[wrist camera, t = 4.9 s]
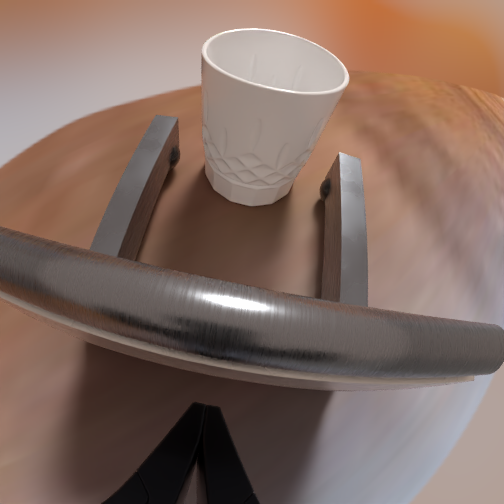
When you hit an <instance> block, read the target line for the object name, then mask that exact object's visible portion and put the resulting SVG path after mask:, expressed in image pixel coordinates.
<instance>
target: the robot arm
mask: <svg viewBox="0 0 504 504" xmlns="http://www.w3.org/2000/svg"><path fill="white" fill-rule="evenodd" d="M197 457H198V458H197ZM196 462H197V504H260V502H259V500H258V498H257V496H256V494H255V493H254V490H253V488H252V485H251V483H250V481H249V479H248V476H247V474H246V472H245V469H244V467H243V465H242V462H241V460H240V457H239V455H238V453H237V450H236V448H235V445H234V443H233V440H232V438H231V435H230V433H229V430H228V427H227V425H226V422H225V420H224V417H223V414H222V412H221V409H220V407H218V406H213V405H207V406H206V405H205V404H202V403H197V402H194V403H192V404H191V406H190V407H189V408H188V409H187V411H186V412H185V413H184V414H183V416H182V417H181V418H180V419H179V421H178V422H177V423H176V424H175V425H174V427H173V428H172V429H171V430H170V431H169V433H168V434H167V435H166V436H165V437H164V439H163V440H162V441H161V442H160V443H159V445H158V446H157V447H156V448H155V449H154V451H153V452H152V453H151V454H150V455H149V456H148V458H147V459H146V460H145V461H144V462H143V463H142V464H141V466H140V467H139V468H138V469H137V472H134V473H133V475H132V476H131V477H130V478H129V479H128V480H127V481H126V482H125V483H124V484H123V485H122V486H121V487H120V488H119V489H118V490H117V491H116V492H115V493H114V494H113V495H111V496H110V497H109V498H108V499H107V500H105V501H104V502H103V503H101V504H184V501H185V497H186V494H187V491H188V488H189V485H190V482H191V479H192V476H193V472H194V469H195V466H196Z"/></svg>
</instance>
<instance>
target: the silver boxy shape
mask: <svg viewBox="0 0 504 504" xmlns="http://www.w3.org/2000/svg"><path fill="white" fill-rule="evenodd" d="M179 159H180V150H179V130H178V118H177V117H169V116H161V115H156V116H155V118H154V119H153V121H152V123H151V124H150V126H149V128H148V129H147V131H146V133H145V134H144V136H143V138H142V140H141V141H140V143H139V145H138V147H137V149H136V150H135V152H134V154H133V156H132V158H131V160H130V162H129V164H128V166H127V167H126V169H125V171H124V173H123V175H122V177H121V179H120V181H119V183H118V185H117V187H116V190H115V192H114V194H113V196H112V198H111V200H110V202H109V205H108V207H107V209H106V211H105V214H104V216H103V218H102V220H101V223H100V225H99V228H98V230H97V232H96V235H95V237H94V240H93V242H92V245H91V248H90V250H87V249H83V248H79V247H75V246H71V245H67V244H63V243H59V242H56V241H52V240H48V239H44V238H41V237H37V236H33V235H30V234H26V233H22V232H19V231H15V230H12V229H8V228H5V227H1V226H0V301H2V302H4V303H6V304H7V305H9V306H11V307H13V308H15V309H17V310H19V311H21V312H22V313H24V314H26V315H28V316H30V317H32V318H34V319H36V320H38V321H40V322H43V323H45V324H47V325H49V326H51V327H53V328H55V329H58V330H60V331H62V332H64V333H67V334H69V335H71V336H74V337H76V338H78V339H81V340H83V341H86V342H89V343H91V344H94V345H97V346H100V347H103V348H106V349H110V350H113V351H116V352H119V353H123V354H126V355H129V356H133V357H136V358H140V359H143V360H147V361H151V362H155V363H159V364H163V365H167V366H171V367H175V368H179V369H183V370H188V371H193V372H197V373H202V374H207V375H212V376H217V377H223V378H228V379H234V380H240V381H246V382H253V383H260V384H267V385H275V386H284V387H293V388H303V389H314V390H328V391H377V390H397V389H411V388H422V387H432V386H440V385H448V384H455V383H462V382H468V381H474V376H476V375H487V374H492V373H494V372H495V371H497V370H498V369H499V368H500V366H501V365H502V363H503V362H504V330H503V329H502V328H501V327H500V326H498V325H495V324H486V323H478V322H469V321H461V320H454V319H446V318H438V317H431V316H424V315H417V314H410V313H403V312H397V311H390V310H384V309H377V308H371V307H368V259H367V232H366V214H365V201H364V189H363V179H362V169H361V161H360V159H359V158H355V157H352V156H349V155H346V154H343V153H340V152H339V154H338V156H337V157H336V159H335V161H334V163H333V165H332V167H331V168H330V170H329V172H328V174H327V176H326V177H325V180H324V181H323V182H322V184H321V186H320V196H321V199H322V201H323V202H324V203H325V232H324V256H323V274H322V290H321V299H317V298H312V297H306V296H301V295H295V294H290V293H284V292H279V291H274V290H268V289H263V288H258V287H253V286H248V285H243V284H238V283H233V282H228V281H223V280H218V279H214V278H209V277H204V276H199V275H195V274H190V273H185V272H181V271H176V270H172V269H167V268H163V267H158V266H154V265H149V264H145V263H141V262H136V261H135V259H136V256H137V253H138V250H139V247H140V244H141V241H142V238H143V235H144V232H145V230H146V227H147V224H148V221H149V219H150V216H151V213H152V211H153V208H154V205H155V203H156V200H157V198H158V195H159V193H160V190H161V188H162V185H163V183H164V180H165V178H166V176H167V173H168V171H169V170H171V169H173V168H174V167H175V166H176V165H177V163H178V162H179Z"/></svg>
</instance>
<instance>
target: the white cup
mask: <svg viewBox="0 0 504 504" xmlns="http://www.w3.org/2000/svg"><path fill="white" fill-rule="evenodd" d="M201 63H202V64H201V65H202V66H201V69H202V70H201V74H202V75H201V76H202V80H201V81H202V82H201V95H202V98H201V100H202V135H203V144H204V149H205V174H206V176H207V178H208V180H209V182H210V184H211V186H212V187H213V189H214V190H215V191H216V192H218V193H219V194H221V195H222V196H223V197H225V198H226V199H228V200H229V201H231V202H235V203H239V204H243V205H247V206H259V205H267V204H273V203H274V202H276V201H277V200H279V199H281V198H282V197H284V196H285V195H287V194H288V192H289V190H290V188H291V186H292V184H293V182H294V180H295V178H296V177H297V175H298V173H299V172H300V170H301V169H302V168H303V167H304V166H305V164H306V161H307V160H308V158H309V157H310V155H311V153H312V152H313V150H314V148H315V146H316V144H317V142H318V140H319V138H320V137H321V135H322V133H323V131H324V129H325V127H326V125H327V123H328V121H329V119H330V117H331V115H332V113H333V112H334V110H335V108H336V106H337V104H338V102H339V100H340V98H341V96H342V94H343V92H344V90H345V88H346V87H347V85H348V82H349V74H348V71H347V69H346V68H345V66H344V65H343V63H342V62H341V61H340V60H339V59H338V58H337V57H336V56H334V55H333V54H332V53H330V52H329V51H327V50H326V49H324V48H323V47H321V46H319V45H317V44H315V43H313V42H311V41H309V40H306V39H304V38H301V37H298V36H295V35H292V34H288V33H284V32H279V31H274V30H266V29H237V30H231V31H226V32H222V33H219V34H217V35H215V36H213V37H211V38H209V39H208V40H207V41H206V42H205V43H204V45H203V47H202V62H201Z"/></svg>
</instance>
